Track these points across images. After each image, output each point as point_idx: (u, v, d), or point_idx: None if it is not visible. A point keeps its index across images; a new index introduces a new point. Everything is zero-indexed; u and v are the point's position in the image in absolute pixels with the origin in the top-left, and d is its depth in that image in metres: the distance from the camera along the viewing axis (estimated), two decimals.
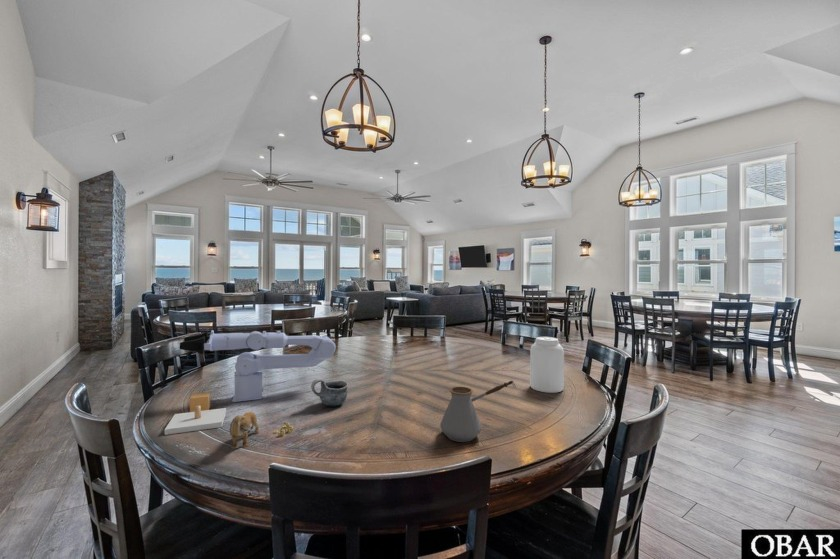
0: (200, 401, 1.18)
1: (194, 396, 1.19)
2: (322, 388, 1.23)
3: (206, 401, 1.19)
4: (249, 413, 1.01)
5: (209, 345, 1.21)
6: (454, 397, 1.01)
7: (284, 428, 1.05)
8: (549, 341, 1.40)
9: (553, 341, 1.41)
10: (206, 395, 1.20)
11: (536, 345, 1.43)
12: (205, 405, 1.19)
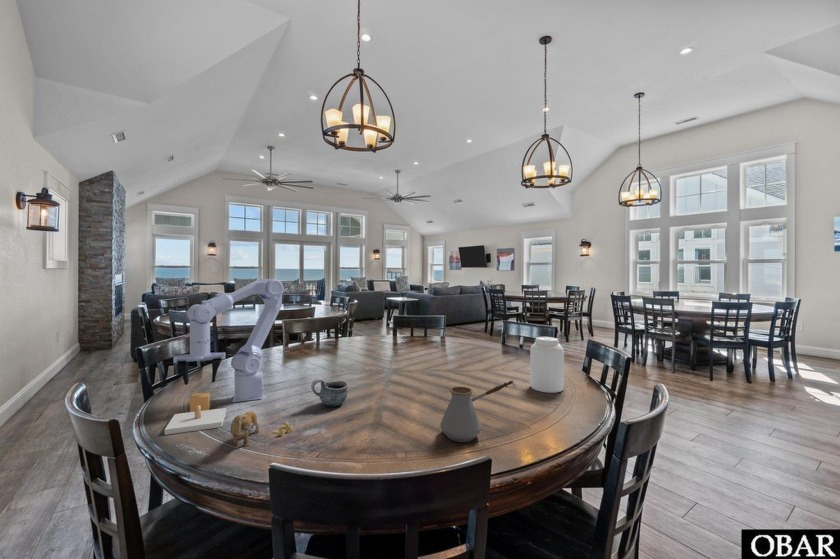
0: (200, 401, 1.18)
1: (194, 396, 1.19)
2: (322, 388, 1.23)
3: (206, 401, 1.19)
4: (250, 412, 1.01)
5: None
6: (454, 397, 1.01)
7: (283, 428, 1.05)
8: (549, 341, 1.40)
9: (553, 341, 1.41)
10: (206, 395, 1.20)
11: (536, 345, 1.43)
12: (205, 405, 1.19)
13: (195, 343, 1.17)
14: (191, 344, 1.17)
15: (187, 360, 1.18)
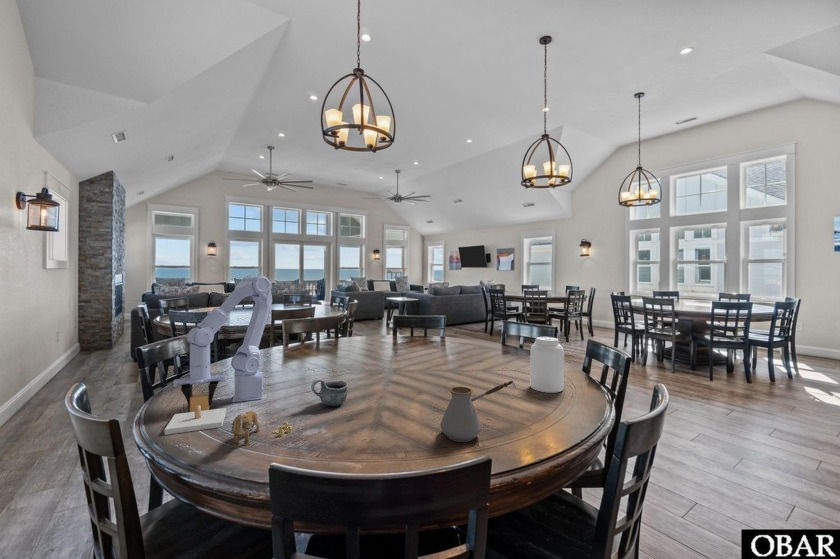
0: (200, 401, 1.18)
1: (194, 396, 1.19)
2: (322, 388, 1.23)
3: (206, 401, 1.19)
4: (250, 412, 1.01)
5: (225, 376, 1.22)
6: (454, 397, 1.01)
7: (283, 428, 1.05)
8: (549, 341, 1.40)
9: (553, 341, 1.41)
10: (206, 395, 1.20)
11: (536, 345, 1.43)
12: (205, 405, 1.19)
13: (195, 367, 1.17)
14: (191, 368, 1.18)
15: (187, 383, 1.19)
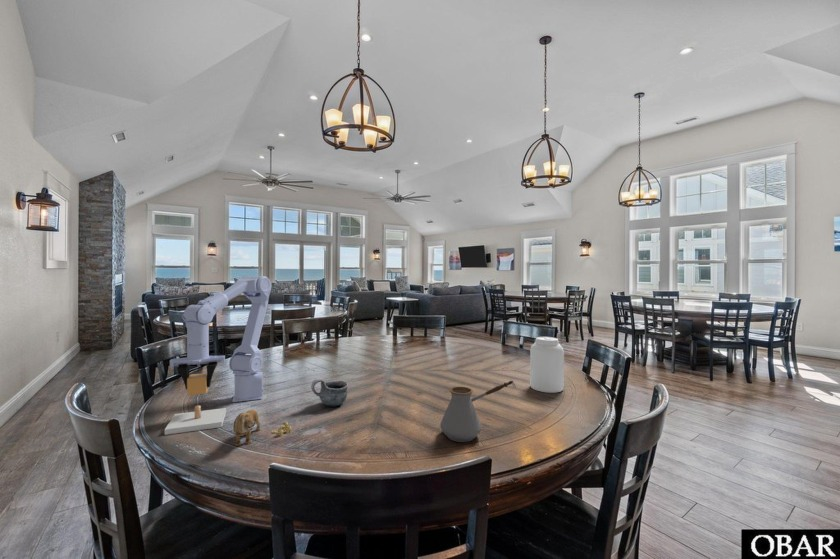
0: (198, 382, 1.11)
1: (191, 377, 1.12)
2: (322, 388, 1.23)
3: (204, 382, 1.12)
4: (251, 411, 1.02)
5: (224, 357, 1.16)
6: (454, 397, 1.01)
7: (282, 428, 1.05)
8: (549, 341, 1.40)
9: (553, 341, 1.41)
10: (204, 376, 1.13)
11: (536, 345, 1.43)
12: (203, 386, 1.12)
13: (193, 346, 1.11)
14: (188, 347, 1.11)
15: (184, 364, 1.12)
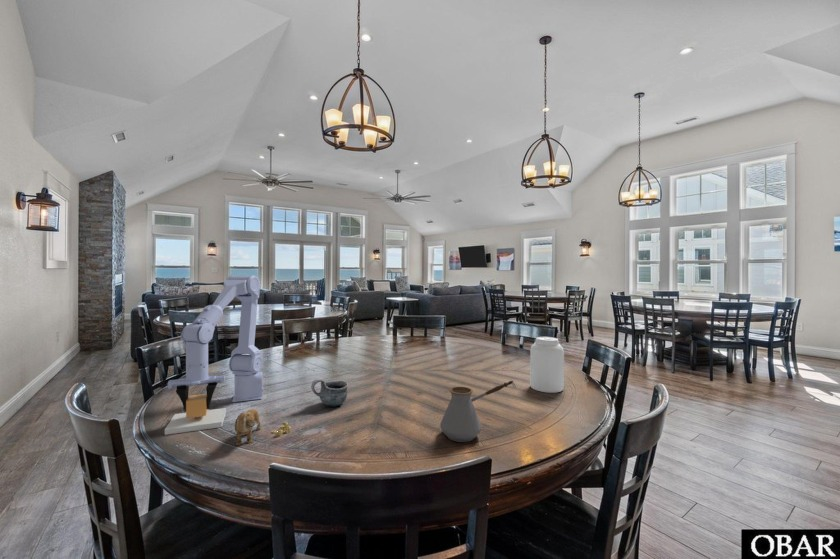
0: (197, 404, 1.08)
1: (190, 399, 1.08)
2: (322, 388, 1.23)
3: (204, 404, 1.08)
4: (252, 410, 1.03)
5: (224, 377, 1.12)
6: (454, 397, 1.01)
7: (282, 428, 1.05)
8: (549, 341, 1.40)
9: (553, 341, 1.41)
10: (204, 397, 1.09)
11: (536, 345, 1.43)
12: (203, 408, 1.08)
13: (192, 367, 1.07)
14: (187, 368, 1.07)
15: (183, 385, 1.08)
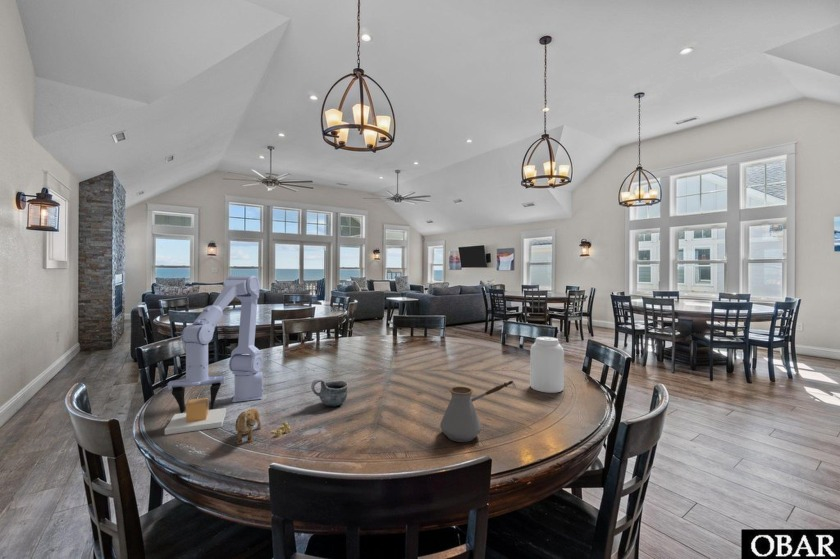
0: (197, 408, 1.08)
1: (191, 403, 1.08)
2: (322, 388, 1.23)
3: (204, 408, 1.09)
4: (252, 409, 1.03)
5: (224, 378, 1.12)
6: (454, 397, 1.01)
7: (282, 428, 1.05)
8: (549, 341, 1.40)
9: (553, 341, 1.40)
10: (204, 402, 1.09)
11: (536, 345, 1.43)
12: (203, 413, 1.08)
13: (192, 367, 1.07)
14: (187, 368, 1.07)
15: (183, 386, 1.08)
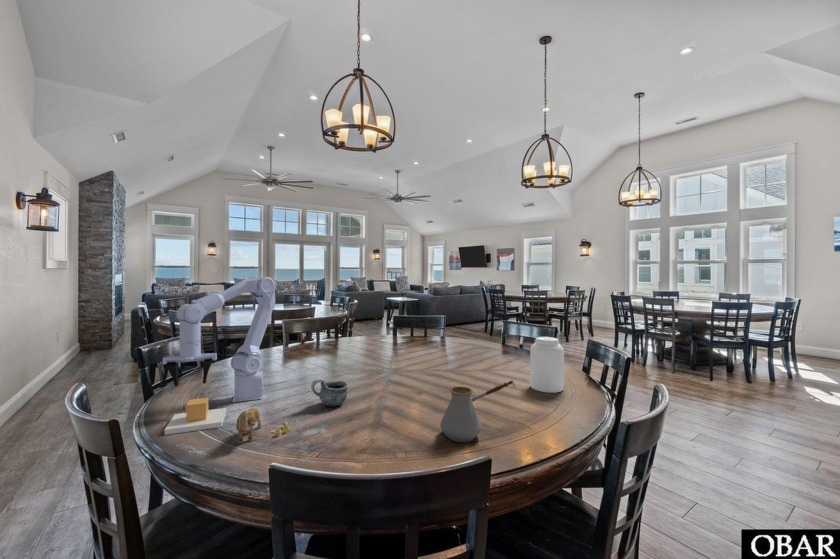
0: (197, 408, 1.08)
1: (191, 403, 1.08)
2: (322, 388, 1.23)
3: (204, 408, 1.09)
4: (253, 409, 1.04)
5: (216, 354, 1.20)
6: (454, 397, 1.01)
7: (281, 428, 1.05)
8: (549, 341, 1.40)
9: (553, 341, 1.40)
10: (204, 402, 1.09)
11: (536, 345, 1.43)
12: (203, 413, 1.08)
13: (185, 344, 1.14)
14: (181, 345, 1.15)
15: (177, 361, 1.16)
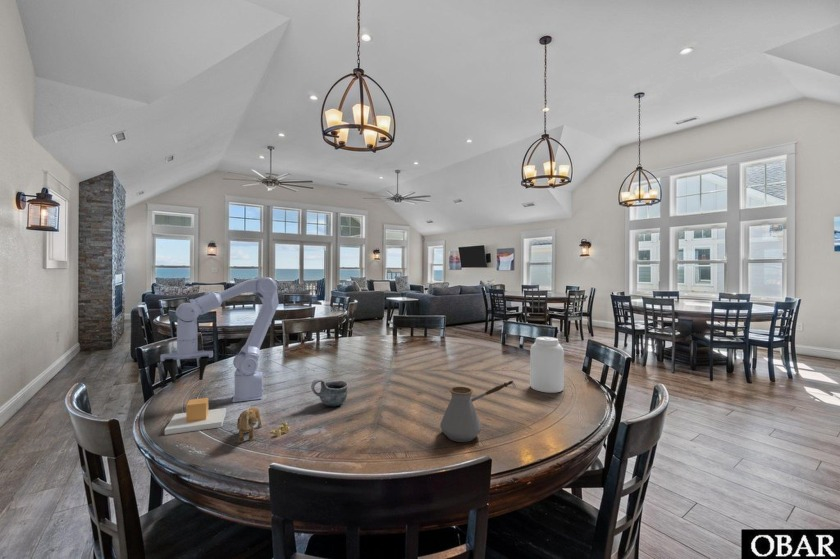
0: (197, 408, 1.08)
1: (191, 403, 1.08)
2: (322, 388, 1.23)
3: (204, 408, 1.09)
4: (253, 408, 1.04)
5: (212, 352, 1.23)
6: (454, 397, 1.01)
7: (281, 428, 1.05)
8: (549, 341, 1.40)
9: (553, 341, 1.41)
10: (204, 402, 1.09)
11: (536, 345, 1.43)
12: (203, 413, 1.08)
13: (182, 341, 1.18)
14: (178, 342, 1.18)
15: (174, 358, 1.19)
